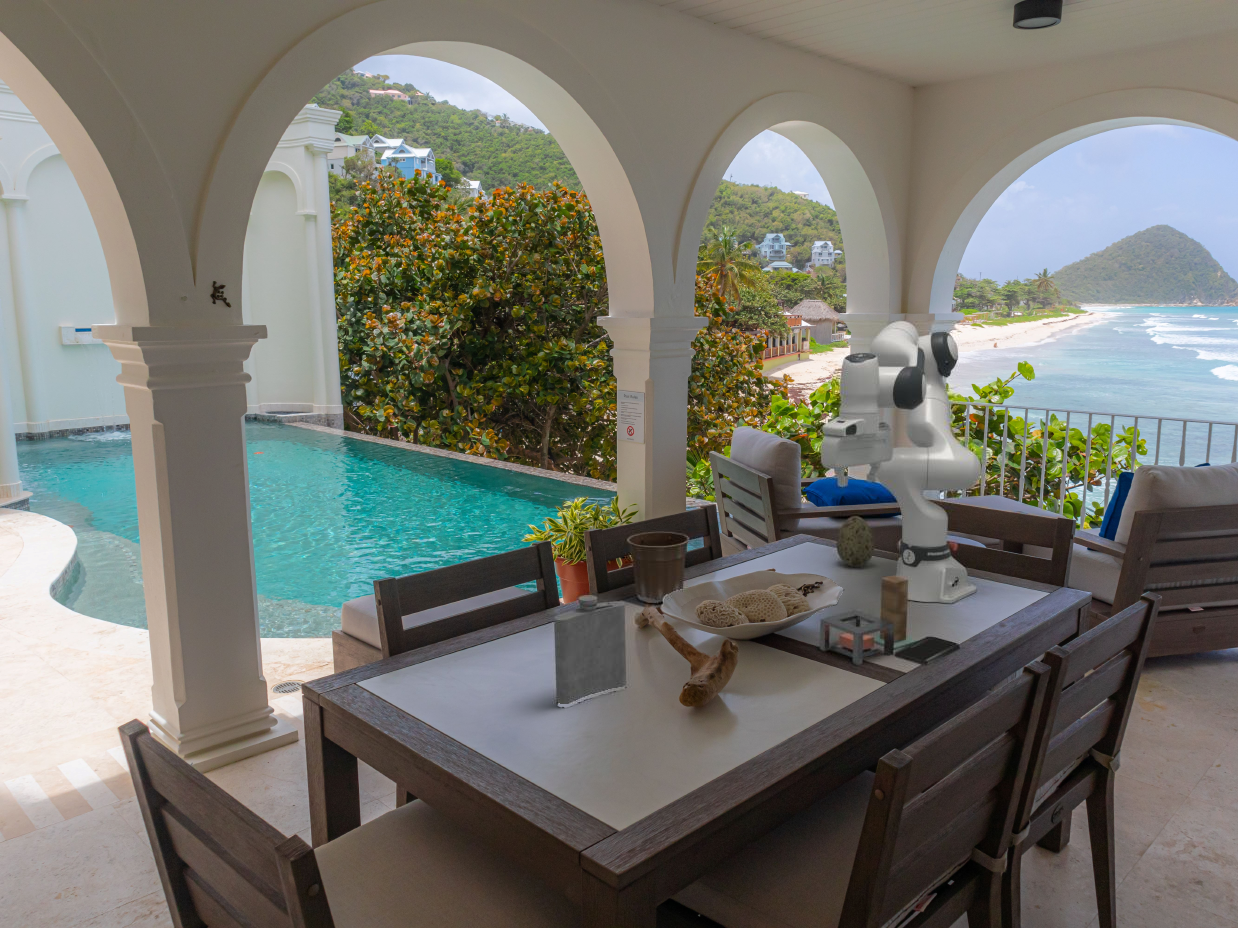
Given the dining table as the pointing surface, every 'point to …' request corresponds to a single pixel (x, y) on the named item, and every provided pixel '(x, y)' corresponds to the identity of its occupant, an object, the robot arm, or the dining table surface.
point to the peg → (895, 605)
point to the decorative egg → (855, 542)
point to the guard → (857, 633)
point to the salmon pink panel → (847, 641)
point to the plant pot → (658, 562)
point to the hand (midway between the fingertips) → (857, 484)
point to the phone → (927, 650)
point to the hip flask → (589, 649)
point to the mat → (896, 645)
